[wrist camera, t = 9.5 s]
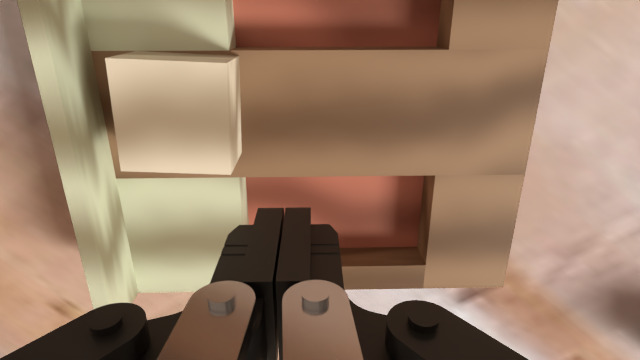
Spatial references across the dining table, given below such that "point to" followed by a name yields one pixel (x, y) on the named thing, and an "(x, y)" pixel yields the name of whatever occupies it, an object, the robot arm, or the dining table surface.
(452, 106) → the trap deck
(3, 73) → the dining table surface
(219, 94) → the block
